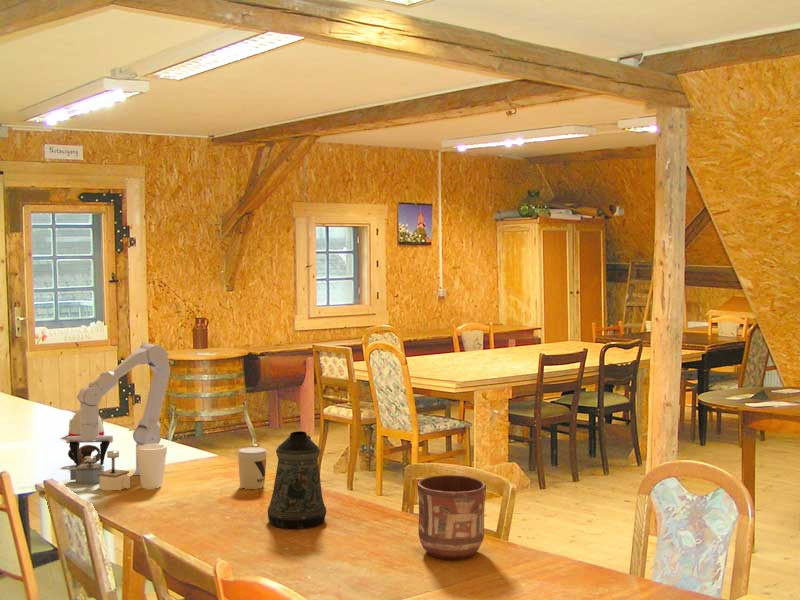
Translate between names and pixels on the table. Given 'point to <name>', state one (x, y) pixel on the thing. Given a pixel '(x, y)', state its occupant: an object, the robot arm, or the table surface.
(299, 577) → the table surface
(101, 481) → the cream boxy piece
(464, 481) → the pottery
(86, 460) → the metal bulb with stem
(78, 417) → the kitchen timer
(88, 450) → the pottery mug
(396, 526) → the table surface
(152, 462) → the foam cup
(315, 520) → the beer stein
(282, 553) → the table surface
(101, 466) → the gray faceted block
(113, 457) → the cream pot plunger
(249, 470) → the coffee cup
